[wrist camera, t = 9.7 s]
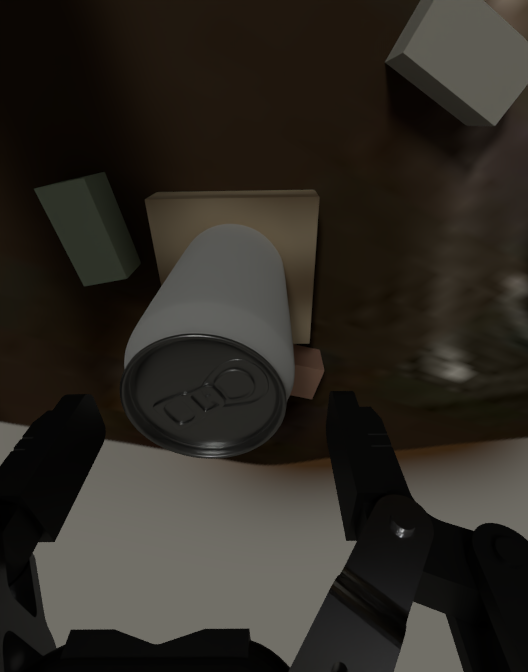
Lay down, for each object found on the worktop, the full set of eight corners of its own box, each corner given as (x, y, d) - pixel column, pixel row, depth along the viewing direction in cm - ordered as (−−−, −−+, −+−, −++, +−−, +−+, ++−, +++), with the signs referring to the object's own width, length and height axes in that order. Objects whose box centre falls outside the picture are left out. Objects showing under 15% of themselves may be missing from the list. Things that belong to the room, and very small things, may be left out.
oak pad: (156, 192, 21) (144, 199, 19) (314, 189, 21) (319, 196, 19) (180, 327, 27) (172, 344, 24) (306, 326, 26) (309, 343, 24)
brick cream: (465, 126, 19) (507, 68, 18) (495, 126, 17) (547, 59, 15) (383, 62, 18) (423, -6, 16) (402, 52, 15) (451, -29, 14)
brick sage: (61, 181, 21) (33, 188, 19) (105, 171, 21) (83, 177, 18) (103, 269, 24) (84, 286, 22) (142, 262, 24) (127, 278, 21)
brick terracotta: (241, 362, 29) (238, 384, 26) (249, 333, 27) (247, 354, 25) (308, 375, 29) (311, 399, 27) (319, 348, 28) (324, 370, 25)
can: (301, 288, 22) (331, 428, 12) (221, 331, 24) (187, 484, 14) (249, 199, 19) (228, 283, 9) (161, 256, 21) (62, 379, 11)
